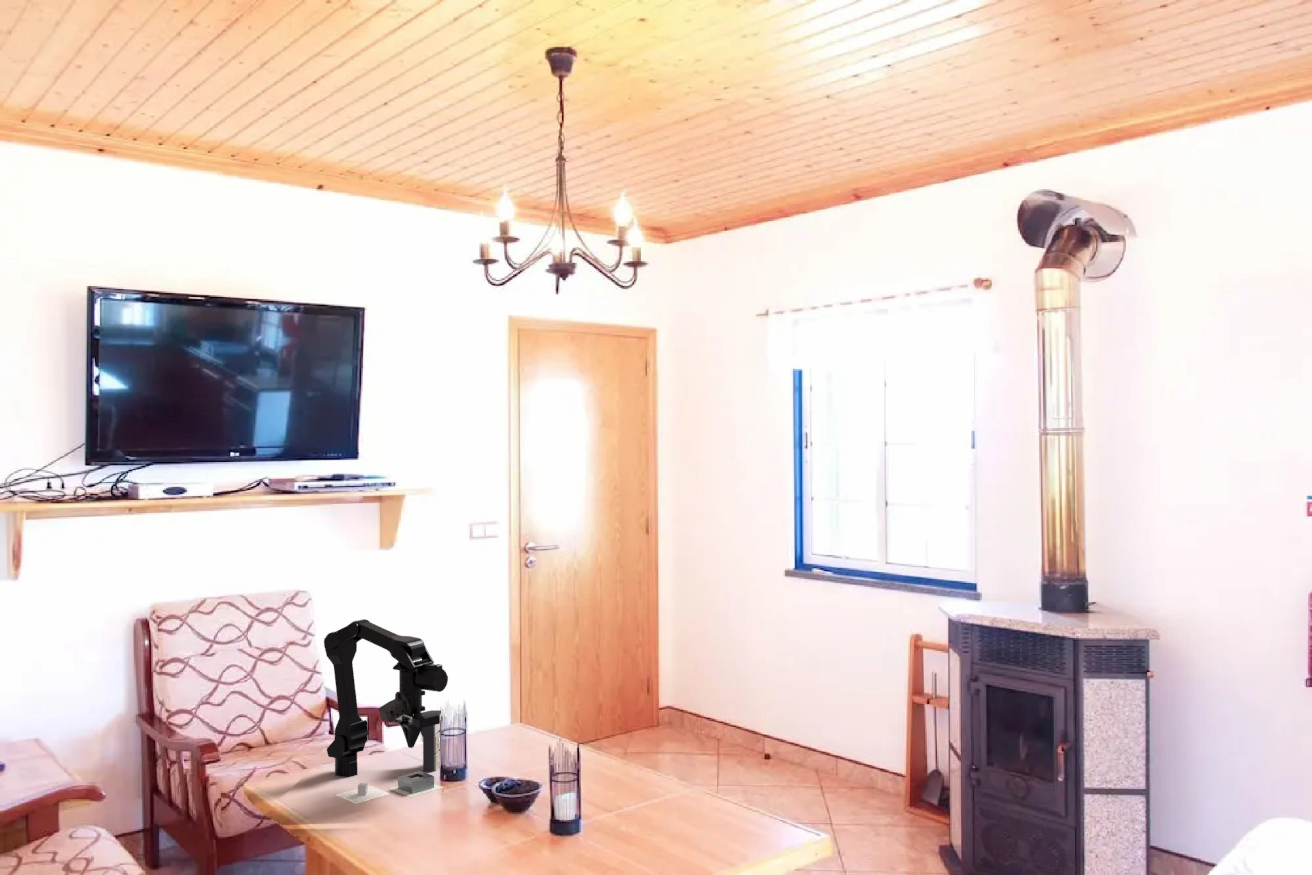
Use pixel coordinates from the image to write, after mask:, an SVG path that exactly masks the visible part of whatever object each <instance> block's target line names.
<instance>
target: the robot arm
mask: <svg viewBox="0 0 1312 875" xmlns="http://www.w3.org/2000/svg"><path fill="white" fill-rule="evenodd" d="M361 640H365V641H367V642H369V643H371V644H374V645H375V646H377V647H380V648H382V649H384V650H386V651H387V652H389V654H390V656H391V658H393V659H394V660H396V661H397V663H396V664H395V665H393V667H392V669H393V670H395V671H399V678H398V680H399V686H398V687H399V691H396V692H395V693H394V694H395V695H394V696H395V697H394V698H393V699H392V700H389V701H388V702H386V703H384V704H383V705H382V706H380V707H378V713H379V715H380V718H381V721H386V722H387V723H395V724H397V725H398V726H400V728H401V729H402V732H403V736H404V739H405V740H406V744H407V747H408V748H409V749H413V748H414V747H415V745H416V742H417V741H418V739H419V736H420V734H421V730H422V728H423V727H428V726H432V725H436V724H440V715H439V714H438V713H436V712H432V711H431V710H427V711H426V706H424V705H423V697H422V696H425V695H426V691H429V692H437V693H438V692H440V693H441V692H443V691H444V690H445V688H446V687H447V685H448V680H449V676H448V674H447V672H446V670H445V669H443V664H442V663H439V664H436V663H435V662H434V660H433V658H432V656H431V654H430V652H429V650H428V649H427V647H426V644H425V642H424V640H423V639H422V638H419V637H414V636H411V635H409V636H408V635H400V634H396V633H394V632H393V631H390V630H388V629H385V628H383V627H381V626H379V625H376V624H375V623H373V622H371V621H370V620H368V619H365V618H364V619H357V620H354V621H352V622H350V623H349V624H348V625H346V626H344V627H342V628H340V629H338V630H336V631H332V632H329V633H327V634H326V636H325V637H324V638H323V647H324V650H325V651H324V652H325V655H326V657H327V658H328V660H329V661H330V663H331V664H332V665H333V672H334V683H335V692H336V698H337V707H338V708H337V709H338V720H337V723H336V726H335V728H334V739H333V741H332V742H331V743H330V745H328V747H327V748H326V753H327V757H329V758H334V775H335V776H337V777H345V778H351V777H356V776H358V753H359V752H360V753H361V752H363V751H364V749H365V746H366V743H367V742H368V738H369V736H370V733H369V729H368V727H369V726H368V721H367V719H364V720H363V719H362V718H361V715H360V714H359V711H358V703H357V702H358V701H357V692H356V684H355V675H354V674H355V673H354V666H353V665H354V664H353V661H354V659H355V657H356V654H357V650H358V649H357V646H358V642H360V641H361ZM434 663H435V664H434Z"/></svg>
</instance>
